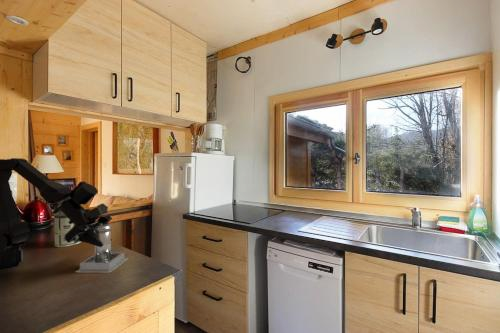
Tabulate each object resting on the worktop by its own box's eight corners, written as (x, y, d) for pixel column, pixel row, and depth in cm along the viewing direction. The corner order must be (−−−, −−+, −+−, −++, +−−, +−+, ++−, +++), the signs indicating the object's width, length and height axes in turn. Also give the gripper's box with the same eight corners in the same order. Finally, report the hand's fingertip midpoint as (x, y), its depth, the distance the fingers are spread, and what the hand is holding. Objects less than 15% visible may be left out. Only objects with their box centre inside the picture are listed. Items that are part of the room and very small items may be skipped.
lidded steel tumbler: (98, 266, 86) (97, 229, 85) (90, 262, 89) (90, 226, 89) (115, 260, 90) (114, 225, 90) (107, 257, 94) (107, 223, 94)
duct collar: (75, 272, 84) (75, 264, 84) (97, 258, 96) (97, 251, 96) (110, 272, 84) (110, 264, 84) (127, 258, 96) (127, 251, 96)
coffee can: (75, 238, 122) (75, 210, 121) (85, 242, 116) (85, 212, 116) (50, 244, 113) (49, 214, 113) (59, 248, 107) (59, 216, 107)
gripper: (73, 201, 80) (106, 235, 80) (107, 194, 99) (134, 222, 99) (49, 225, 80) (83, 259, 80) (87, 214, 99) (115, 241, 99)
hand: (106, 243), depth 90 cm, fingers closed on lidded steel tumbler, 5 cm apart
